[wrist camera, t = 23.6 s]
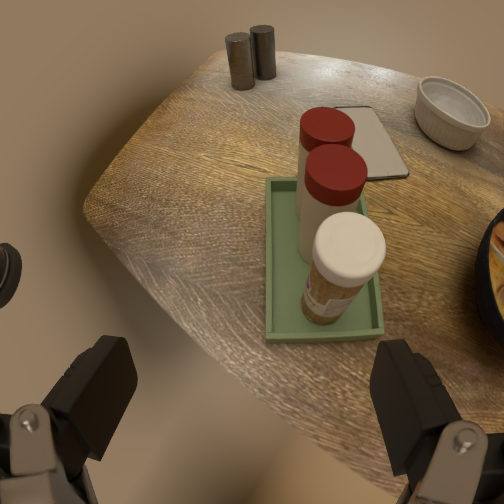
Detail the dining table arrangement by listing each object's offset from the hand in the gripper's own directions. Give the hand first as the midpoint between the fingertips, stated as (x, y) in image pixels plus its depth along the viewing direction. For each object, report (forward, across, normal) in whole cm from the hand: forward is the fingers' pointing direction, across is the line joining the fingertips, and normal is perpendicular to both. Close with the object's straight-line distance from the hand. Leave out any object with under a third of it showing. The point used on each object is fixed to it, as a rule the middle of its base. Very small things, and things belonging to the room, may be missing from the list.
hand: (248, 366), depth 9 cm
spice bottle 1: (+27, -6, +1) cm, 28 cm away
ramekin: (+40, -30, -11) cm, 51 cm away
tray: (+24, -6, +5) cm, 25 cm away
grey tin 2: (+50, 0, -20) cm, 54 cm away
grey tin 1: (+48, +4, -18) cm, 51 cm away
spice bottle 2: (+24, -6, +4) cm, 25 cm away
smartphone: (+37, -15, -8) cm, 40 cm away
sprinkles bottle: (+20, -6, +9) cm, 22 cm away
